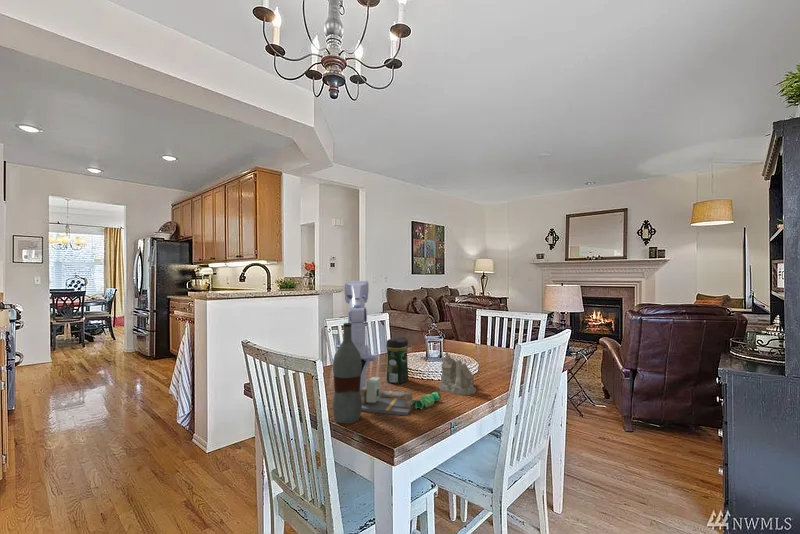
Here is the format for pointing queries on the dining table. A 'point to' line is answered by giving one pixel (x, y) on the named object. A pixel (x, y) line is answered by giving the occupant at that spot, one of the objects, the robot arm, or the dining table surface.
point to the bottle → (347, 380)
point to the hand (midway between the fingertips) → (357, 381)
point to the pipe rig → (388, 402)
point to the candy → (427, 400)
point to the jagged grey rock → (456, 377)
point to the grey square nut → (373, 389)
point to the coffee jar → (397, 360)
